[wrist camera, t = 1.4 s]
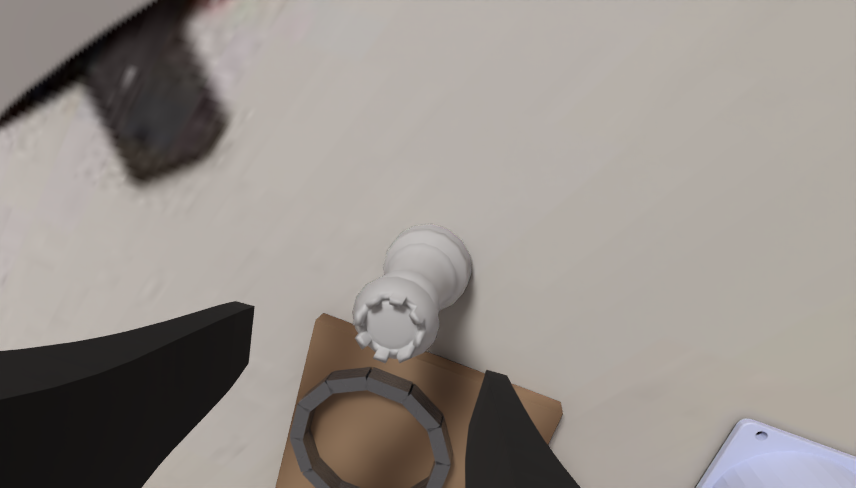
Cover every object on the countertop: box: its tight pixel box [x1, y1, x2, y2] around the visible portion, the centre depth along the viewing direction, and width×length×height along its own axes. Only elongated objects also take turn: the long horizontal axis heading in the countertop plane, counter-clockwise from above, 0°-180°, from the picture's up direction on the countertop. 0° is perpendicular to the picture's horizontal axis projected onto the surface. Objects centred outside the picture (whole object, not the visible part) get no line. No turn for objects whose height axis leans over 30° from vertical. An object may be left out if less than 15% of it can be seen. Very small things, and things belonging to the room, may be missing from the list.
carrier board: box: [276, 313, 563, 488], centre depth 25 cm, size 14×18×1 cm
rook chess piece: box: [352, 224, 472, 363], centre depth 18 cm, size 4×4×8 cm
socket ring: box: [290, 367, 453, 488], centre depth 23 cm, size 9×9×1 cm
